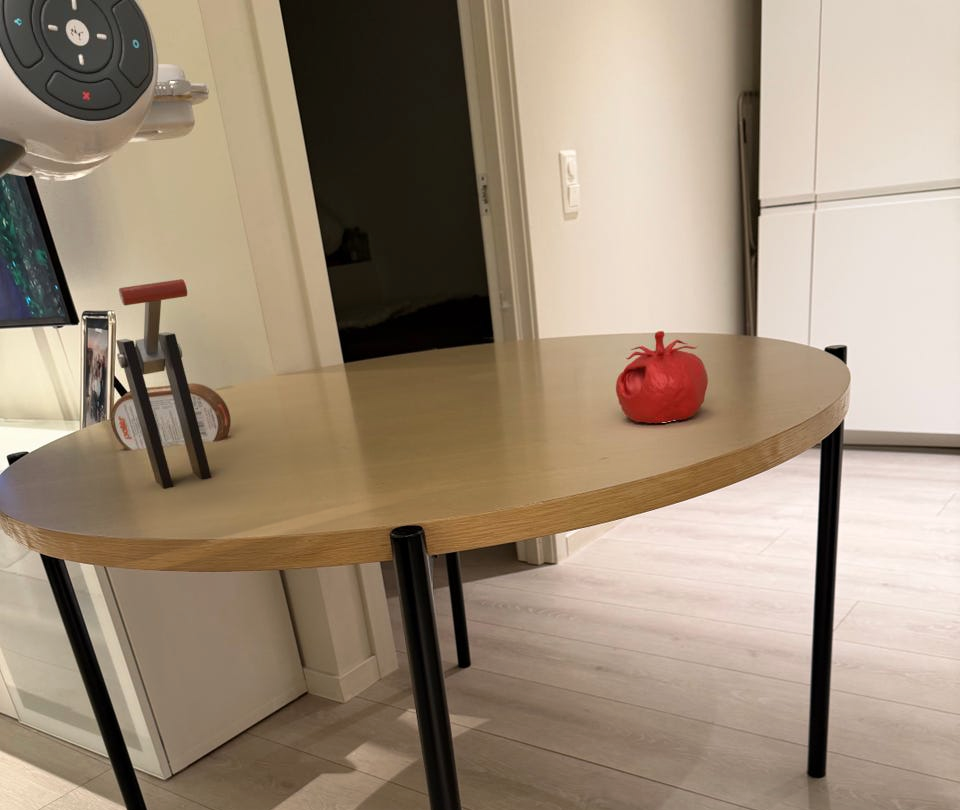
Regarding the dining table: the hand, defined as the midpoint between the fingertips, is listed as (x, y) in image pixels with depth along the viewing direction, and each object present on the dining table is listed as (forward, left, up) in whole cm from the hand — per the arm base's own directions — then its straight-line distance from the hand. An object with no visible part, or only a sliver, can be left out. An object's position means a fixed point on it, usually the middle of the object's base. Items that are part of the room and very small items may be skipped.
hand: (27, 130), depth 64 cm
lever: (+7, +12, -16) cm, 21 cm away
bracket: (+7, +17, -32) cm, 37 cm away
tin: (+11, +39, -32) cm, 52 cm away
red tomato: (+56, -2, -32) cm, 65 cm away
